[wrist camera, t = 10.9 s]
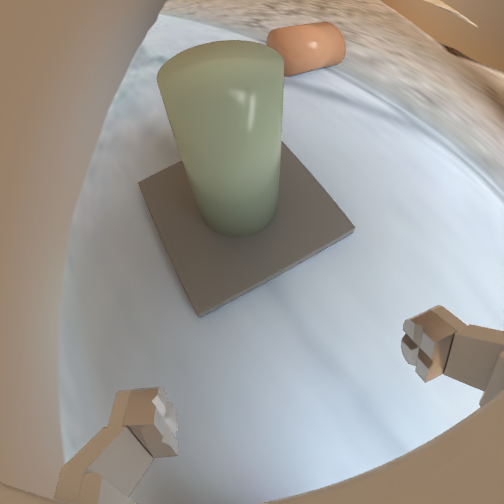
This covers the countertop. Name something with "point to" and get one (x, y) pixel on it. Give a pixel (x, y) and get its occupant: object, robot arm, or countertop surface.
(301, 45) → the tan rounded cylinder
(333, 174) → the countertop surface
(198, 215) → the plate
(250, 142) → the pale green rounded cylinder
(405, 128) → the countertop surface
